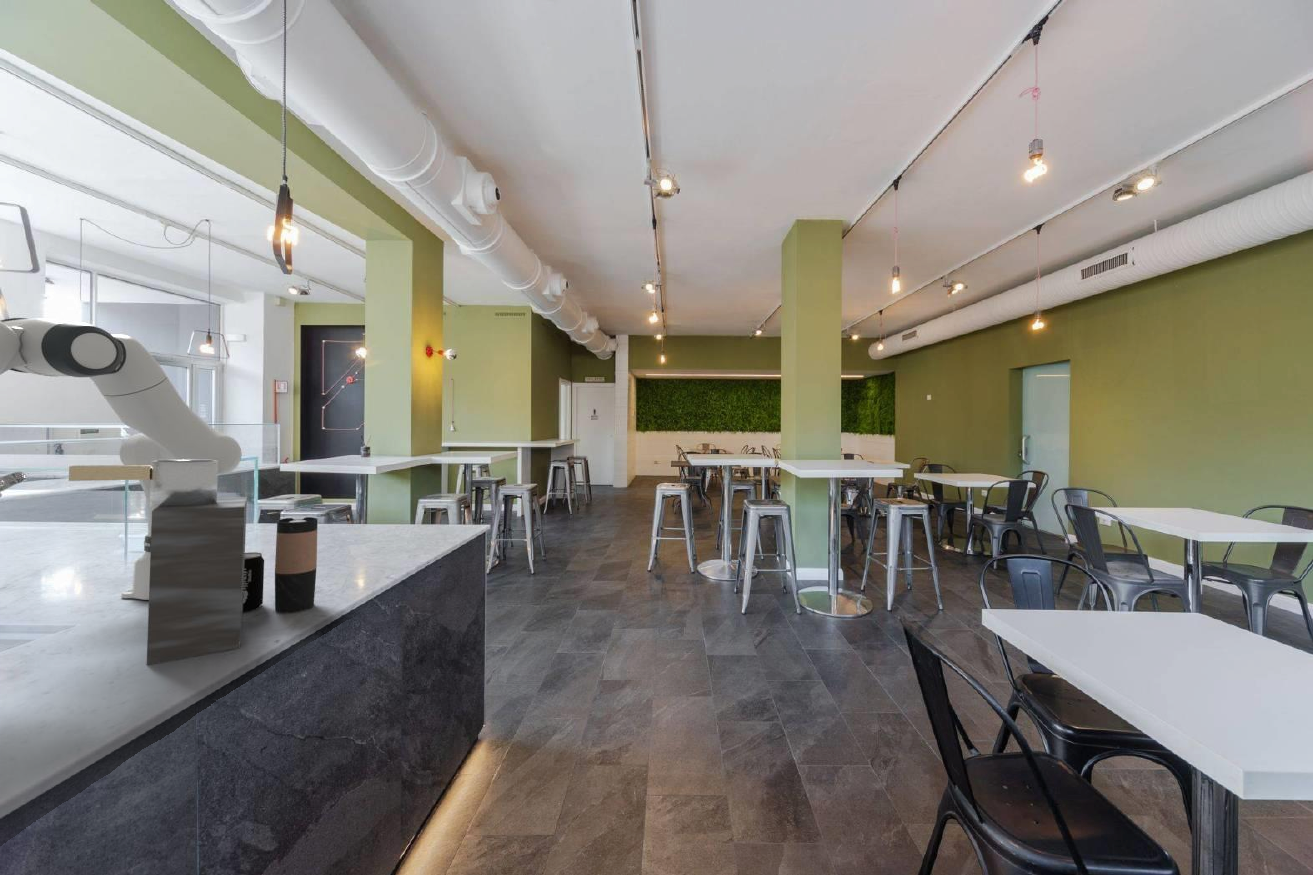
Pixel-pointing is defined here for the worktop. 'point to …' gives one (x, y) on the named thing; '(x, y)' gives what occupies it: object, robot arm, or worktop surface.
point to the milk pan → (162, 480)
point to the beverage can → (253, 581)
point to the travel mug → (295, 564)
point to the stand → (196, 580)
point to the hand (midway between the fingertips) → (12, 477)
